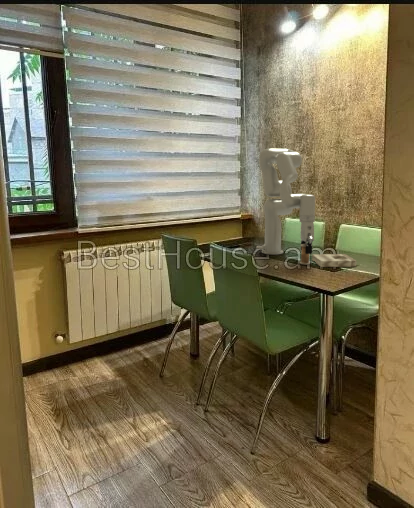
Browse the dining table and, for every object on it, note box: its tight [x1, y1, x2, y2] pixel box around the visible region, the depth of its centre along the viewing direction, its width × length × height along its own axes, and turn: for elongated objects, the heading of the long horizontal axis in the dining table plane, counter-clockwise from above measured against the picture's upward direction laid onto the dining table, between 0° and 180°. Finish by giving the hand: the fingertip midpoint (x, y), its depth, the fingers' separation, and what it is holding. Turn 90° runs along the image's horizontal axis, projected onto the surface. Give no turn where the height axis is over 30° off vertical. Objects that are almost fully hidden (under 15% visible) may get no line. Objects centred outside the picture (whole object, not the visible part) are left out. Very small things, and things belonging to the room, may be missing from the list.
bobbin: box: [299, 243, 311, 266], centre depth 213 cm, size 5×5×10 cm
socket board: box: [311, 253, 358, 268], centre depth 214 cm, size 18×16×3 cm
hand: (306, 251), depth 212 cm, fingers open, 9 cm apart
